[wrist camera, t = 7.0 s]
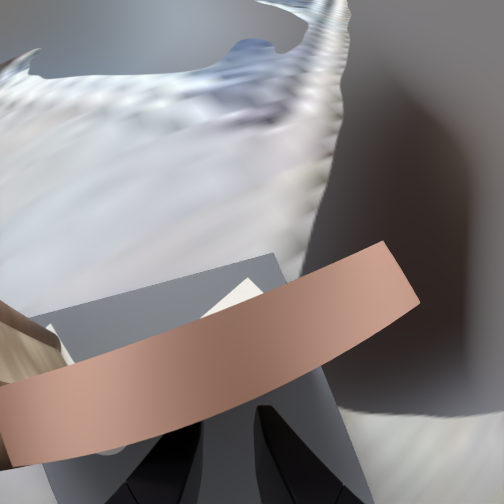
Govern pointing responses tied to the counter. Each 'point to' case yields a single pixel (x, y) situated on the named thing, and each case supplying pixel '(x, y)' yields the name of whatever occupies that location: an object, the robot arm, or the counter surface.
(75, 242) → the counter surface
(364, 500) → the board
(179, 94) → the counter surface
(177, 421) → the fence gate
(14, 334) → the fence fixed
